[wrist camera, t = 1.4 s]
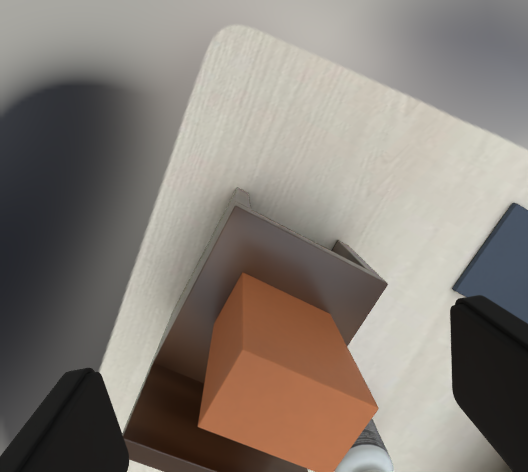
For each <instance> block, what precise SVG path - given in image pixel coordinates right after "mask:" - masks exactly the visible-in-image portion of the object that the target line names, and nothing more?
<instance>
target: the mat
mask: <svg viewBox="0 0 528 472" xmlns="http://www.w3.org/2000/svg"><path fill="white" fill-rule="evenodd" d="M452 289H453V290H455V291H456V292H458V293H460V294H462V295H464V296H466V297H471V296H476V295H482V296H485V297H486V298H488V299H490V300H491V301H493V302H494V303H496V304H497V305H499V306H501V307H502V308H504V309H505V310H507V311H509V312H510V313H512V314H513V315H515V316H516V317H518V318H520V319H521V320H523V321H524V322H526V323H528V210H527V209H525V208H523V207H522V206H520V205H518V204H516V203H512V205H511V206H510V207H509V209H508V210H507V212H506V213H505V215H504V216H503V217H502V219H501V220H500V222H499V223H498V224H497V226H496V227H495V229H494V230H493V231H492V233H491V234H490V236H489V237H488V239H487V240H486V241H485V243H484V244H483V246H482V247H481V248H480V250H479V251H478V253H477V254H476V256H475V257H474V258H473V260H472V261H471V263H470V264H469V265H468V267H467V268H466V270H465V271H464V273H463V274H462V275H461V277H460V278H459V280H458V281H457V282H456V284H455V285H454V287H453V288H452Z"/></svg>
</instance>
